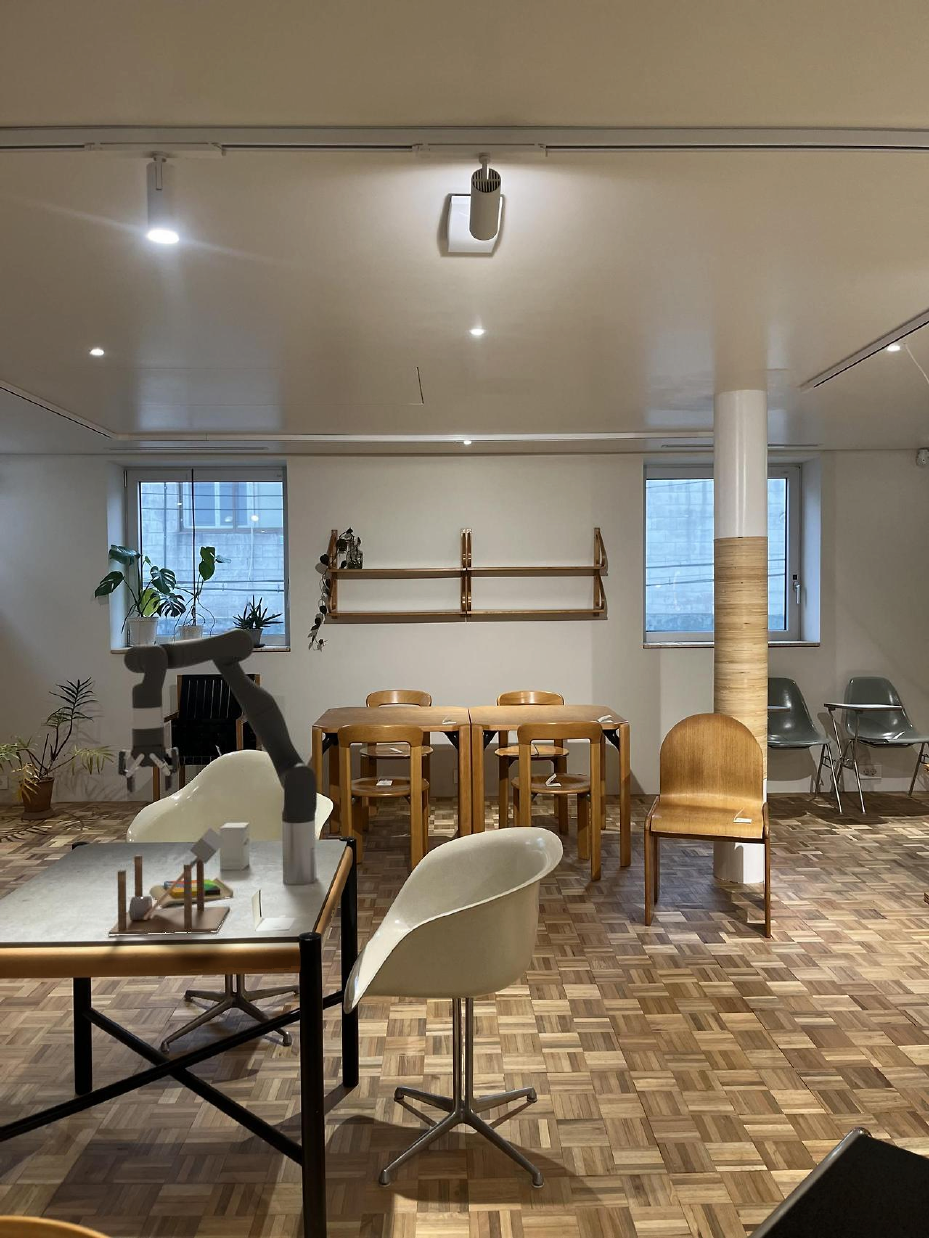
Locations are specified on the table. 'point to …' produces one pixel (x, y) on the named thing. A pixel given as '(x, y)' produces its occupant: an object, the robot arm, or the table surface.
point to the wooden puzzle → (211, 891)
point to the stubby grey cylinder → (140, 907)
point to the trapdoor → (195, 859)
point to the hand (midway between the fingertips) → (149, 791)
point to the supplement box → (234, 846)
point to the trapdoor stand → (173, 917)
